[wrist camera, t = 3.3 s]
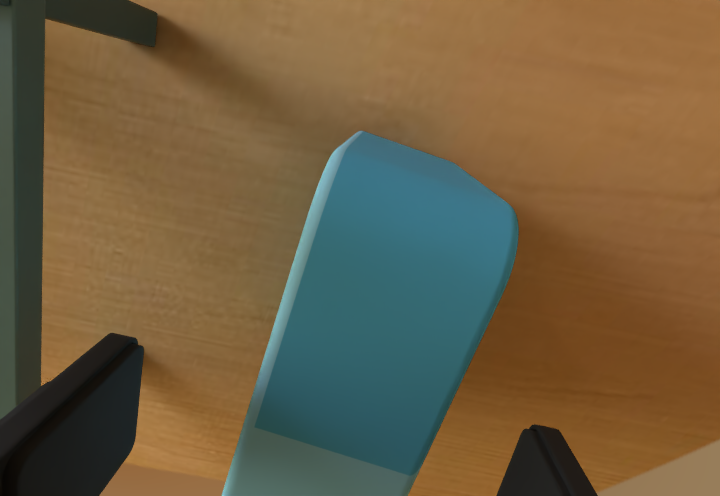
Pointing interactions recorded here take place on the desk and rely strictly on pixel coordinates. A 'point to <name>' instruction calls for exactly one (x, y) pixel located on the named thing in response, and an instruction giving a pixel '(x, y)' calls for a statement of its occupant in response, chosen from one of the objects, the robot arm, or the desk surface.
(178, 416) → the desk surface
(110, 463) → the robot arm
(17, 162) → the chair
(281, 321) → the light blue rounded block
